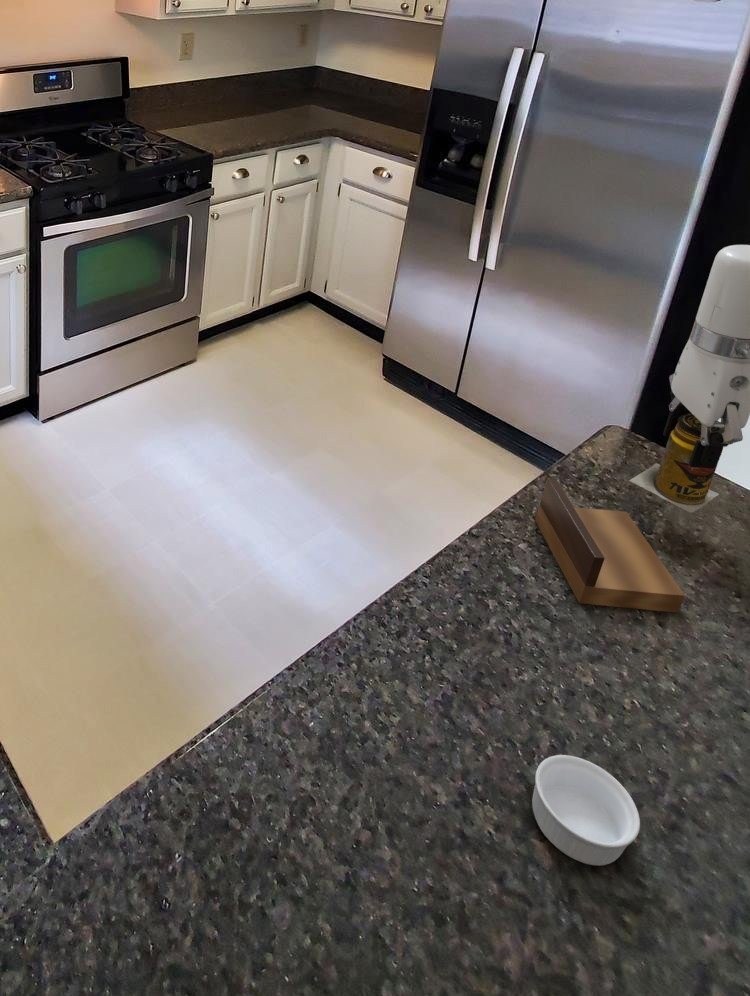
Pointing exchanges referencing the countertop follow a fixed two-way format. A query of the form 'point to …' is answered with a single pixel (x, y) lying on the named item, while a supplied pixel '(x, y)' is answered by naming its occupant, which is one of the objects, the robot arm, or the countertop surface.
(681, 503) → the condiment
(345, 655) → the countertop surface
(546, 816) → the ramekin
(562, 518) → the shelf
